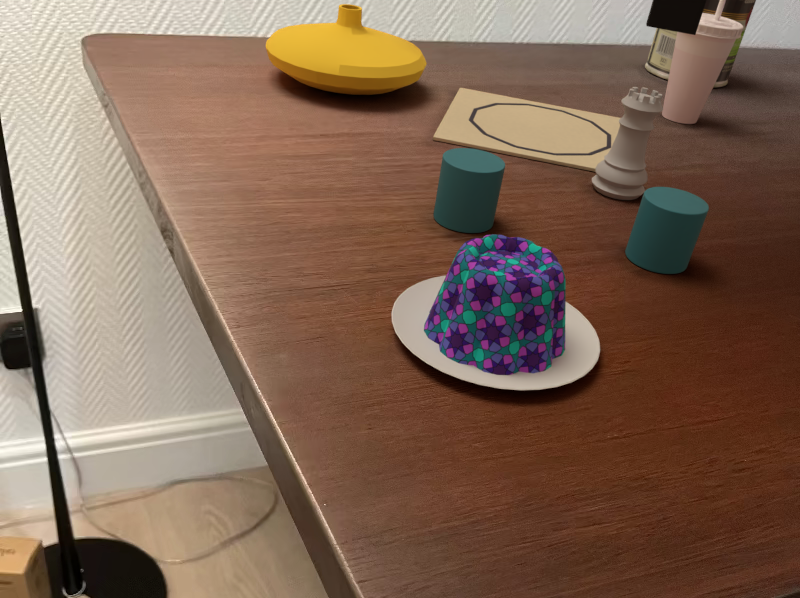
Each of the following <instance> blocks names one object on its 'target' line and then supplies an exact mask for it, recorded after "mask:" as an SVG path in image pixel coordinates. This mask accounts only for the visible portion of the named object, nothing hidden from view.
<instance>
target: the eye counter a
mask: <svg viewBox="0 0 800 598" xmlns="http://www.w3.org/2000/svg"><path fill="white" fill-rule="evenodd" d="M505 169H506V162H505V161H504V160H503V159H502V158H501V157H500V156H498V155H497V154H494V153H493V152H490V151H487V150H482V149H476V148H471V147H455V148H451V149H448V150H446V151H444V152H443V154H442V158H441V165H440V171H439V177H438V183H437V190H436V196H435V201H434V209H433V220H435V222H436V223H438V224H439V225H440V226H441V227H444V228H446V229H448V230H451V231H454V232H459V233H464V234H480V233H484V232H488V231H489V230H491V229H492V227H494V223H495V217H496V213H497V208H498V204H499V198H500V194H501V189H502V184H503V181H504V180H503V179H504V174H505Z"/></svg>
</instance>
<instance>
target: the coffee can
mask: <svg viewBox="0 0 800 598" xmlns="http://www.w3.org/2000/svg"><path fill="white" fill-rule="evenodd" d="M719 1H720V0H707V1H706V4H705V7H704V10H703V13H707V14H713V15H715V13H716V10H717V7H718V4H719ZM756 2H757V0H726V2H725V5H724V8H723V11H722V14H721V17H725V18H728V19H731V20H734V21H737V22H739V23H740V24H742V25H743V30H742V33H741V37H740V38H738V39H736V41H735V43H734V45H733V47H732V49H731V51H730V53H729V56H728V57H727V59H726V62H725V64H724V66H723V68H722V70H721V72H720V74H719V76H718V78H717V80H716V82H715V84H714V87H713V89H714V88H723V87H725V86H726V85H728V83H729V78H730V75H731V72H732V69H733V66H734V64H735V61H736V58H737V55H738V52H739V49H740V47H741V44H742V41H743V38H744V35H745V33H746V30H747V27H748V24H749V22H750V19H751V16H752V13H753V10H754V7H755V5H756ZM676 36H677V32H675V31H670V30H665V29H659V28H656V29H655V32H654V35H653V40H652V43H651V46H650V50H649V52H648V56H647V60H646V63H645V64H644V69H646V71H647V72H649V74H652V75H654V76H656V77H658V78H660V79H663V80H664V79H665V80H666V81H668V78H669V73H670V68H671V63H672V57H673V52H674V47H675V41H676Z"/></svg>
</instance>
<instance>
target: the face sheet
mask: <svg viewBox="0 0 800 598" xmlns="http://www.w3.org/2000/svg"><path fill="white" fill-rule="evenodd" d="M621 118H622V117H618V116H613V115H609V114H608V115H607V114H602V113H598V112H597V113H596V112H592V111H586V110H581V109H577V108H576V109H575V108H572V107H571V108H570V107H566V106H560V105H556V104H555V105H554V104H549V103H544V102H538V101H533V100H530V99H522V98H518V97H513V96H507V95H502V94H497V93H492V92H486V91H481V90H480V91H479V90H476V89H470V88H467V87H466V88H464V87H459V89H458V90H457V93H456V94H455V96H454V98H453V99H452V101H451V103H450V105H449V107H448V108H447V111H446V112H445V114H444V116H443V118H442V120H441V122H439V125H438V127H437V129H436V130H435V133H434V134H433V136H432V141H435V142H436V141H437V142H441V143H447V144H452V145H457V146H461V147H465V148H471V149H478V150H482V151H486V152H491V153H498V154H503V155H507V156H511V157H512V156H513V157H517V158H523V159H528V160H532V161H538V162H542V163H548V164H554V165H558V166H562V167H563V166H564V167H569V168H574V169H578V170H582V171H583V170H584V171H589V172H594V173H596V169H595V168H596V166H597V165H598V163H600V162H601V161H603V160H604V156H605V155H607V154H608V153H609V151H610V149H611V147H612V145H613V143H614V141H615V138H616V136H617V134H618V130H619V127H620V123H619V119H621Z"/></svg>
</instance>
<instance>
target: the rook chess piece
mask: <svg viewBox="0 0 800 598" xmlns="http://www.w3.org/2000/svg"><path fill="white" fill-rule="evenodd" d="M648 90H649V88H648V87H643V86H641V89H640V92H638V91H639V87H638V86H632V87H631V88H629V90H628V93H627V95H625V96H624V97H623V98H622V99H621V104H622V107H623V110H624V111H623V115H622V116H621V117H620V118H621V119H619V123H620V127H619V130H618V134H617V136H616V138H615V141H614V143H613V145H612V147H611V149H610V151H609V153H608V154H607V155H605V156H604V160H603V161H601V162H600V163H598V165H597V166H596V168H595V169H596V172H595V175H594V176H592V177H591V183H592V186H593V188H594V189H595V190H596V191H597V192H598V193H600V194H601V195H603V196H604V197H608V198H611V199H613V200H614V199H615V200H620V201H633V200H637V199H639V197H641V196H643V194H644V192H645V191H646V189H645V187H644V185H645V184H647V182H648V181H649V179H648V178H649V177H648V171H647V170H646V168H647V163H646V153H647V148H648V141H649V138H650V136H651V132H652V131H653V130H655V125H654V120H655V119H656V117H657V116H658V115H659V114H660V113H662V111H663V104H662V99H663V94H662V93H660V91H658V90H656V89H652V90H651V94H648V92H649V91H648Z"/></svg>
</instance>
